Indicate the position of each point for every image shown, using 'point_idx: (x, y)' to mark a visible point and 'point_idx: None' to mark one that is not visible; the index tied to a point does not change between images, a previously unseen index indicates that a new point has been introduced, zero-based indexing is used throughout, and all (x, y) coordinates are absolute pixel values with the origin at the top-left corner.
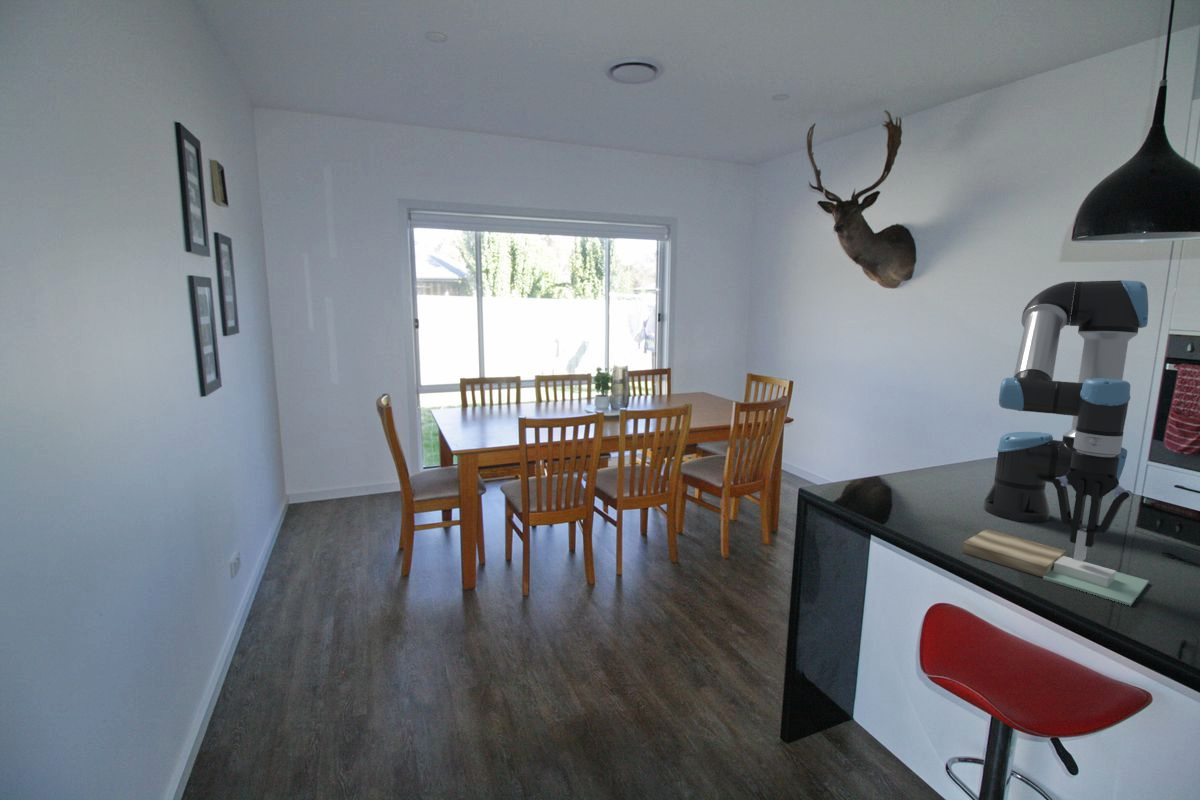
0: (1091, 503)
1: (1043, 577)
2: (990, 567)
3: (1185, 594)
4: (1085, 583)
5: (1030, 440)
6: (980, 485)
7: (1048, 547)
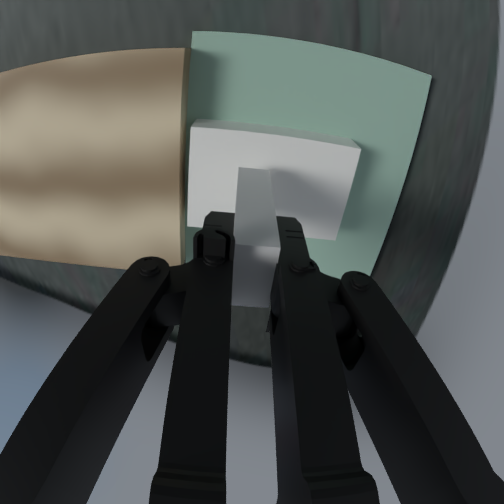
0: (281, 483)
1: None
2: (87, 278)
3: (486, 102)
4: None
5: None
6: None
7: (126, 69)
